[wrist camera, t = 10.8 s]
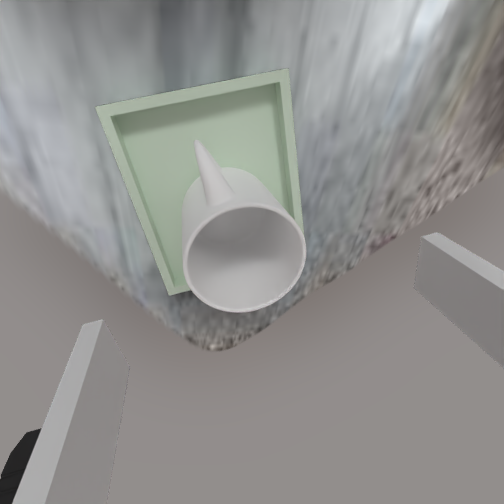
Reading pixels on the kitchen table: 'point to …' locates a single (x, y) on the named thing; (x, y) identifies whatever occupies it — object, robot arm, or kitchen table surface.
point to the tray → (216, 142)
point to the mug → (237, 239)
